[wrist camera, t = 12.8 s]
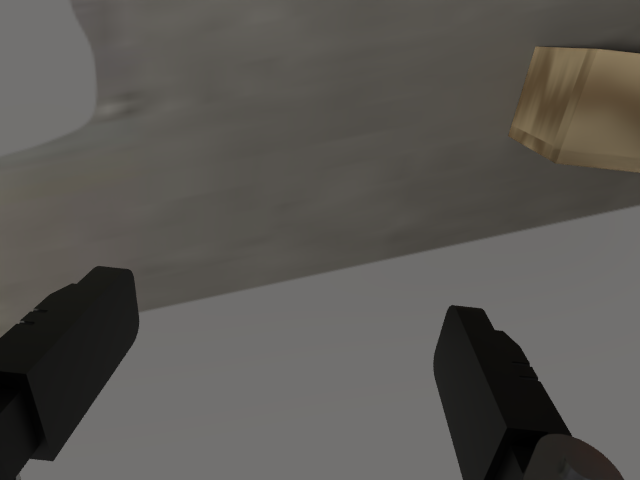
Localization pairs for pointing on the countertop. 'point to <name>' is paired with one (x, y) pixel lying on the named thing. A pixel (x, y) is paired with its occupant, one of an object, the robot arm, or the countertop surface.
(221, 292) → the countertop surface
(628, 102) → the divided wooden crate
